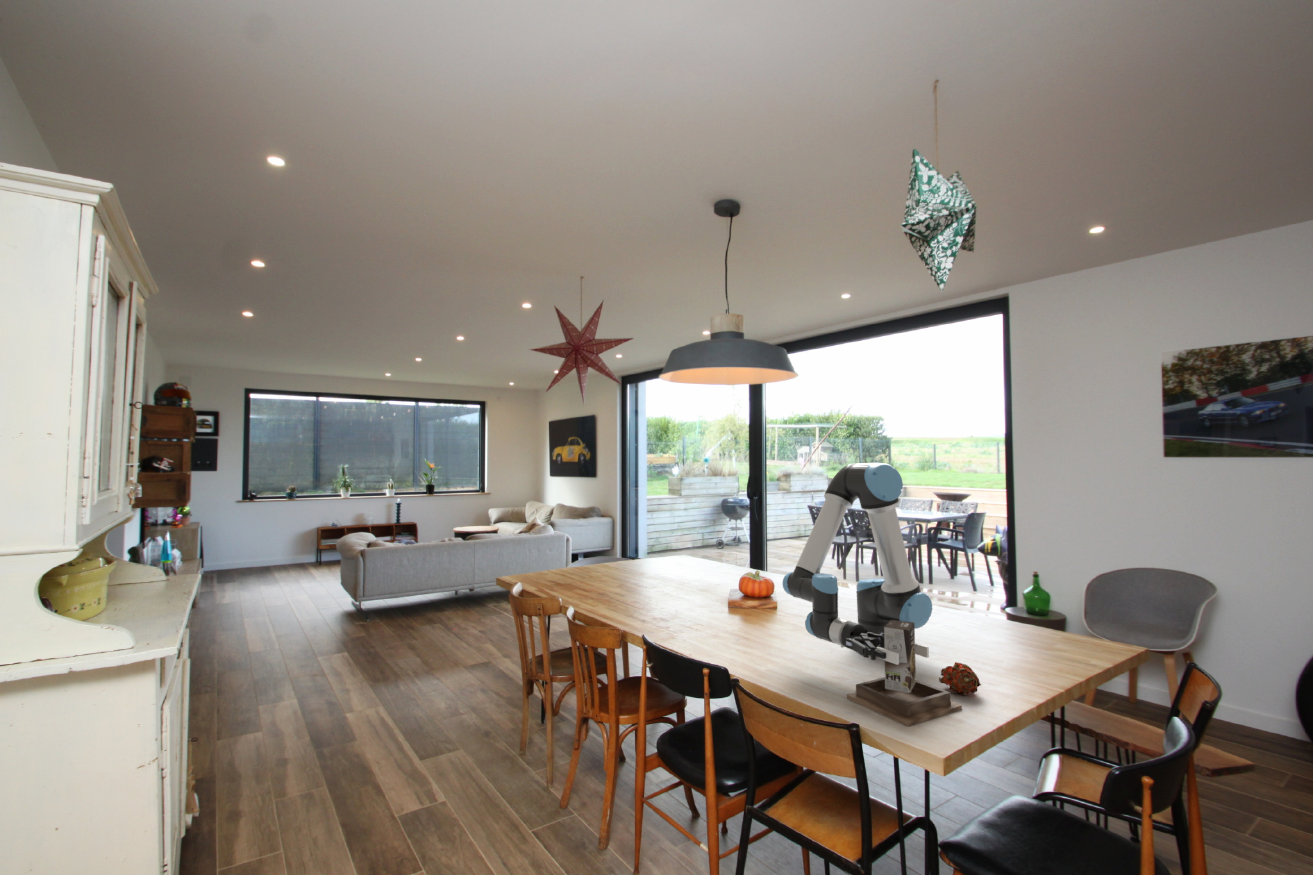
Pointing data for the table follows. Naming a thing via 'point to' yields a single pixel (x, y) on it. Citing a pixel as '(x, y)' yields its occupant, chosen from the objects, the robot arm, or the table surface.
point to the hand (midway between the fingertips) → (913, 655)
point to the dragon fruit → (960, 678)
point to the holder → (904, 701)
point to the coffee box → (900, 656)
